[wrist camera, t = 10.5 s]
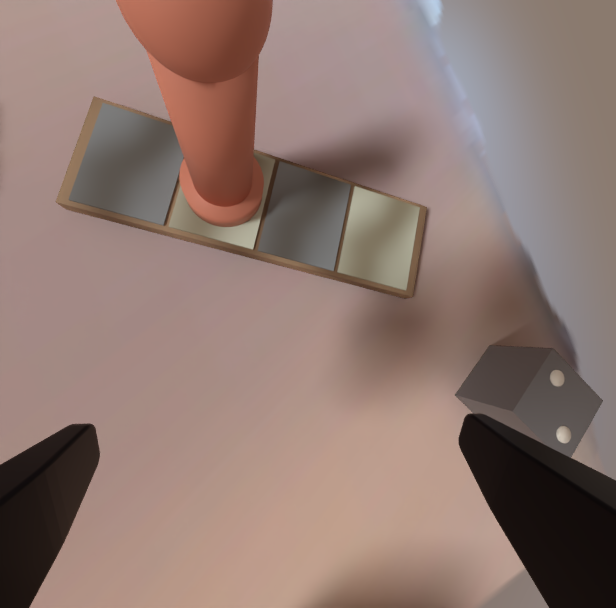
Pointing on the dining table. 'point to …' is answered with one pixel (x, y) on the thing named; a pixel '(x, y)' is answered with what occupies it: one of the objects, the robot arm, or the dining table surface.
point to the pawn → (209, 95)
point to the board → (268, 219)
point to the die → (532, 395)
